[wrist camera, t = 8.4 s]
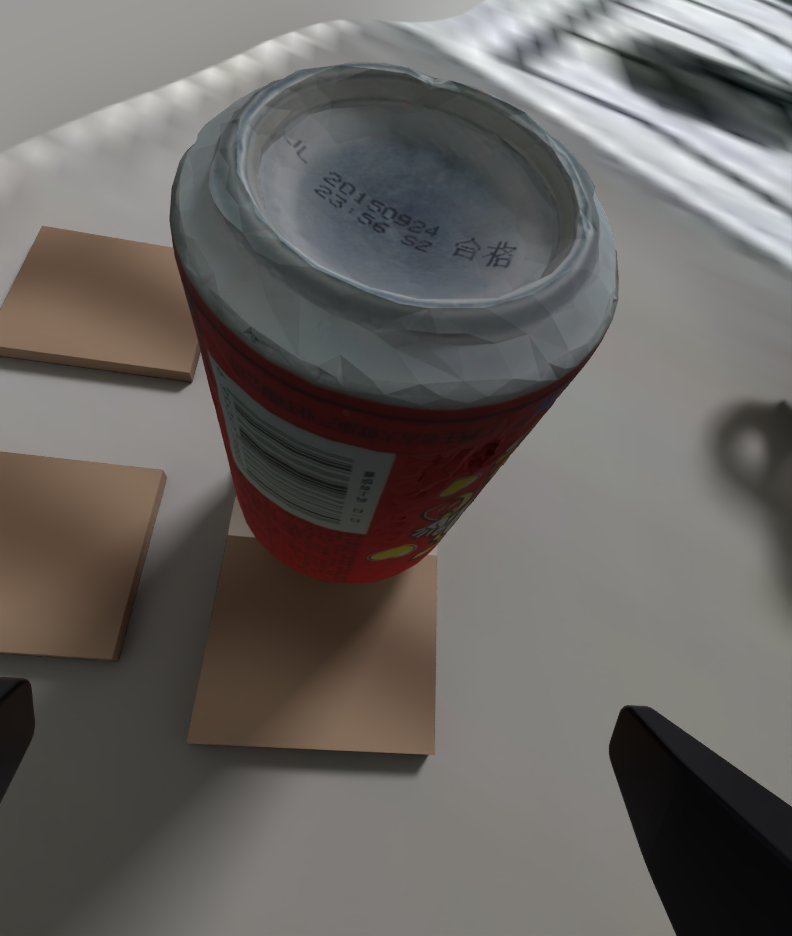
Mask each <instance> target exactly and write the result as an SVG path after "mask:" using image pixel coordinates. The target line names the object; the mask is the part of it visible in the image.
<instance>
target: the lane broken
mask: <svg viewBox="0 0 792 936" xmlns="http://www.w3.org/2000/svg"><path fill="white" fill-rule="evenodd" d="M200 352H201V351H200V347H199V343H198V339H197V335H196V331H195V327H194V324H193V320H192V316H191V313H190V309H189V306H188V302H187V299H186V295H185V292H184V288H183V285H182V281H181V277H180V274H179V270H178V267H177V263H176V260H175V256H174V249H173V248H171V247H165V246H159V245H153V244H147V243H141V242H135V241H130V240H124V239H118V238H112V237H106V236H100V235H94V234H88V233H82V232H76V231H70V230H64V229H58V228H52V227H46V226H42V227H41V229H40V231H39V233H38V235H37V237H36V239H35V241H34V243H33V245H32V247H31V249H30V251H29V253H28V255H27V257H26V259H25V261H24V263H23V265H22V267H21V269H20V271H19V273H18V275H17V277H16V279H15V281H14V283H13V285H12V287H11V289H10V291H9V293H8V295H7V297H6V299H5V301H4V303H3V305H2V307H1V309H0V356H5V357H12V358H20V359H27V360H34V361H42V362H49V363H56V364H64V365H71V366H78V367H86V368H93V369H101V370H108V371H115V372H123V373H130V374H137V375H145V376H152V377H160V378H167V379H174V380H182V381H189V382H193V378H194V374H195V370H196V367H197V363H198V359H199V355H200ZM166 479H167V476H166V475H165V473H164V471H163V470H159V469H150V468H141V467H132V466H123V465H114V464H106V463H97V462H88V461H79V460H70V459H61V458H53V457H44V456H35V455H26V454H17V453H8V452H0V653H1V654H16V655H31V656H47V657H62V658H77V659H92V660H108V661H118V659H119V655H120V652H121V648H122V644H123V640H124V637H125V633H126V629H127V625H128V622H129V618H130V614H131V610H132V607H133V603H134V599H135V595H136V592H137V588H138V584H139V580H140V577H141V573H142V569H143V565H144V562H145V558H146V554H147V550H148V547H149V543H150V539H151V535H152V532H153V528H154V524H155V520H156V517H157V513H158V509H159V505H160V502H161V498H162V494H163V490H164V487H165V483H166Z"/></svg>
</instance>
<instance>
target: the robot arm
mask: <svg viewBox="0 0 792 936" xmlns="http://www.w3.org/2000/svg"><path fill="white" fill-rule="evenodd" d="M34 729H35V718H34V708H33V698H32V688H31V684H30V682H29V681H28V680H27V679H25V678H14V677H0V803H1V801H2V799H3V797H4V795H5V793H6V791H7V789H8V787H9V785H10V783H11V781H12V779H13V777H14V775H15V773H16V771H17V769H18V767H19V765H20V763H21V760H22V758H23V756H24V754H25V752H26V750H27V748H28V746H29V744H30V742H31V740H32V737H33V734H34ZM609 756H610V761H611V764H612V767H613V770H614V773H615V776H616V779H617V782H618V785H619V788H620V791H621V794H622V797H623V800H624V803H625V806H626V809H627V812H628V815H629V817H630V820H631V823H632V826H633V829H634V832H635V835H636V838H637V841H638V844H639V847H640V850H641V852H642V855H643V858H644V861H645V863H646V866H647V868H648V871H649V873H650V876H651V878H652V880H653V883H654V885H655V887H656V890H657V892H658V894H659V897H660V899H661V901H662V904H663V906H664V908H665V910H666V913H667V915H668V917H669V920H670V922H671V924H672V927H673V929H674V931H675V933H676V936H792V807H791V806H790V805H789V804H787V803H786V802H784V801H783V800H781V799H780V798H779V797H777V796H776V795H774V794H773V793H771V792H770V791H769V790H767V789H766V788H764V787H763V786H762V785H760V784H759V783H757V782H756V781H754V780H753V779H752V778H750V777H749V776H747V775H746V774H745V773H743V772H742V771H740V770H739V769H737V768H736V767H735V766H733V765H732V764H730V763H729V762H727V761H726V760H725V759H723V758H722V757H720V756H719V755H718V754H716V753H715V752H713V751H712V750H710V749H709V748H708V747H706V746H705V745H703V744H702V743H701V742H699V741H698V740H696V739H695V738H693V737H692V736H691V735H689V734H688V733H686V732H685V731H683V730H682V729H681V728H679V727H678V726H676V725H675V724H674V723H672V722H671V721H669V720H668V719H666V718H665V717H664V716H662V715H661V714H659V713H658V712H657V711H655V710H654V709H652V708H650V707H647V706H634V705H627V706H624V707H623V708H622V709H621V710H620V713H619V716H618V719H617V722H616V725H615V728H614V731H613V734H612V737H611V740H610V744H609Z"/></svg>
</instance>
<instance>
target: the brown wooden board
mask: <svg viewBox="0 0 792 936" xmlns="http://www.w3.org/2000/svg"><path fill="white" fill-rule="evenodd" d="M436 614H437V545H436V547H435V548H434V549H433V550H432V551H431V552H430V553H429V554H428V555H427V556H425V557H424V558H423V559H422V560H421V561H420V562H419V563H417V564H416V565H414V566H412V567H410V568H408V569H407V570H405V571H403V572H401V573H399V574H398V575H395V576H392V577H389V578H386V579H383V580H380V581H377V582H370V583H357V584H349V583H331V582H323V581H321V580H318V579H315V578H313V577H310V576H307V575H304V574H302V573H299V572H296V571H295V570H293V569H291V568H290V567H288V566H287V565H285V564H283V563H282V562H280V561H279V560H278V559H276V558H275V557H274V556H273V555H272V554H271V553H270V552H269V551H268V550H267V549H266V548H265V547H264V546H263V545H262V544H261V543H260V542H259V541H258V540H257V539H256V538H255V536H254V534H253V533H252V531H251V530H250V528H249V526H248V525H247V523H246V520H245V518H244V515H243V512H242V510H241V507H240V505H239V502H238V499H237V495H236V496H235V501H234V506H233V511H232V516H231V521H230V526H229V531H228V536H227V541H226V546H225V551H224V556H223V561H222V566H221V571H220V576H219V581H218V586H217V591H216V596H215V601H214V606H213V611H212V616H211V621H210V626H209V631H208V636H207V641H206V646H205V651H204V656H203V661H202V666H201V671H200V676H199V681H198V686H197V691H196V696H195V701H194V706H193V711H192V716H191V721H190V726H189V731H188V736H187V741H186V743H190V744H211V745H233V746H254V747H276V748H298V749H319V750H341V751H362V752H384V753H406V754H427V755H435V685H436Z"/></svg>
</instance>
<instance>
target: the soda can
mask: <svg viewBox="0 0 792 936" xmlns="http://www.w3.org/2000/svg"><path fill="white" fill-rule="evenodd" d="M594 190H595V186H594V184H593V182H592V180H591V179H590V177H589V175H588V173H587V171H586V170H585V168H584V167H583V166H582V164H581V163H580V162H579V160H578V159H577V158H576V156H575V155H574V154H573V153H572V152H571V151H570V150H569V149H568V148H567V147H566V146H565V145H564V144H563V143H562V142H561V141H559V140H558V139H556V138H554V137H553V136H551V135H550V134H549V133H548V132H547V131H545V130H544V129H543V128H542V127H541V126H539V125H538V124H537V123H536V122H534V121H533V120H532V119H531V118H530V117H529V116H528V115H527V114H526V113H525V112H523V111H521V110H519V109H517V108H515V107H513V106H512V105H510V104H508V103H506V102H504V101H503V100H501V99H500V98H498V97H497V96H494V95H492V94H490V93H487V92H485V91H483V90H481V89H478V88H476V87H472V86H468V85H463V84H460V83H457V82H454V81H449V80H443V79H437V78H433V77H430V76H428V75H425V74H423V73H420V72H418V71H415V70H412V69H410V68H406V67H401V66H396V65H391V64H386V63H371V62H350V63H345V64H340V65H334V66H329V67H320V68H312V69H303V70H298V71H296V72H294V73H293V74H291V75H289V76H287V77H286V78H284V79H281V80H276V81H273V82H271V83H269V84H268V85H266V86H264V87H262V88H259V89H257V90H255V91H253V92H251V93H250V94H248V95H246V96H244V97H242V98H241V99H239V100H237V101H235V102H234V103H233V104H232V105H231V106H229V107H228V108H227V109H225V110H224V111H223V112H221V113H220V114H219V115H217V116H216V117H215V118H213V119H212V120H211V121H209V122H208V123H207V124H205V126H204V127H203V128H202V129H201V131H200V132H199V133H198V137H197V141H196V142H195V144H193V145H192V146H191V147H190V148H189V149H188V150H187V151H186V152H185V154H184V155H183V157H182V159H181V160H180V162H179V166H178V169H177V172H176V176H175V179H174V182H173V185H172V191H171V206H170V227H171V234H172V242H173V249H174V256H175V260H176V263H177V267H178V270H179V274H180V277H181V281H182V285H183V288H184V292H185V295H186V299H187V302H188V306H189V309H190V313H191V316H192V320H193V324H194V327H195V331H196V335H197V339H198V343H199V347H200V351H201V355H202V359H203V363H204V367H205V371H206V375H207V379H208V383H209V387H210V391H211V395H212V399H213V402H214V405H215V409H216V413H217V418H218V421H219V425H220V429H221V433H222V437H223V441H224V445H225V449H226V453H227V457H228V461H229V466H230V470H231V474H232V478H233V482H234V486H235V490H236V495H237V499H238V502H239V505H240V507H241V510H242V512H243V515H244V518H245V520H246V523H247V525H248V526H249V528H250V530H251V531H252V533H253V534H254V536H255V538H256V539H257V540H258V541H259V542H260V543H261V544H262V545H263V546H264V547H265V548H266V549H267V550H268V551H269V552H270V553H271V554H272V555H273V556H274V557H275V558H276V559H278V560H279V561H280V562H282V563H283V564H285V565H287V566H288V567H290V568H291V569H293V570H295V571H296V572H299V573H302V574H304V575H307V576H310V577H313V578H315V579H318V580H321V581H323V582H331V583H349V584H357V583H370V582H377V581H380V580H383V579H386V578H389V577H392V576H395V575H398V574H399V573H401V572H403V571H405V570H407V569H408V568H410V567H412V566H414V565H416V564H417V563H419V562H420V561H421V560H422V559H423V558H424V557H425V556H427V555H428V554H429V553H430V552H431V551H432V550H433V549H434V548H435V547H436V545H437V544H438V543H439V542H440V541H441V539H442V538H443V537H444V535H445V534H446V533H447V532H448V531H449V529H450V528H451V527H452V526H453V525H454V523H455V522H456V521H457V520H458V519H459V517H460V516H461V515H462V513H463V512H464V511H465V510H466V508H467V507H468V506H469V505H470V504H471V503H472V502H473V501H474V499H475V498H476V497H477V496H478V494H479V493H480V492H481V490H482V489H483V488H484V487H485V485H486V484H487V483H488V482H489V481H490V480H491V478H492V477H493V476H494V475H495V474H496V472H497V471H498V470H499V468H500V467H501V466H502V465H504V463H505V462H506V461H507V459H508V458H509V456H510V455H511V454H512V453H513V451H514V450H515V449H516V448H517V447H518V446H519V445H520V443H521V442H522V441H523V440H524V439H525V437H526V436H527V435H528V434H529V433H530V431H531V430H532V429H533V428H534V427H535V425H536V424H537V423H538V422H539V420H540V419H541V418H542V417H543V415H544V414H545V413H546V412H547V411H548V410H549V409H550V408H551V406H552V405H553V404H554V402H555V400H556V399H557V398H558V397H559V395H560V394H561V393H562V392H563V391H564V390H565V389H566V387H567V386H568V385H569V384H570V383H571V381H572V380H573V379H574V378H575V377H576V375H577V374H578V373H579V372H580V371H581V369H582V368H583V367H584V366H585V364H586V363H587V362H588V360H589V359H590V358H591V356H592V355H593V353H594V352H595V350H596V349H597V347H598V346H599V344H600V343H601V341H602V339H603V337H604V335H605V333H606V331H607V330H608V328H609V326H610V324H611V322H612V320H613V316H614V313H615V309H616V305H617V302H618V265H617V252H616V249H615V244H614V237H613V232H612V229H611V226H610V224H609V221H608V219H607V217H606V214H605V212H604V210H603V208H602V206H601V204H600V202H599V201H598V199H597V197H596V195H595V193H594Z"/></svg>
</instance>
